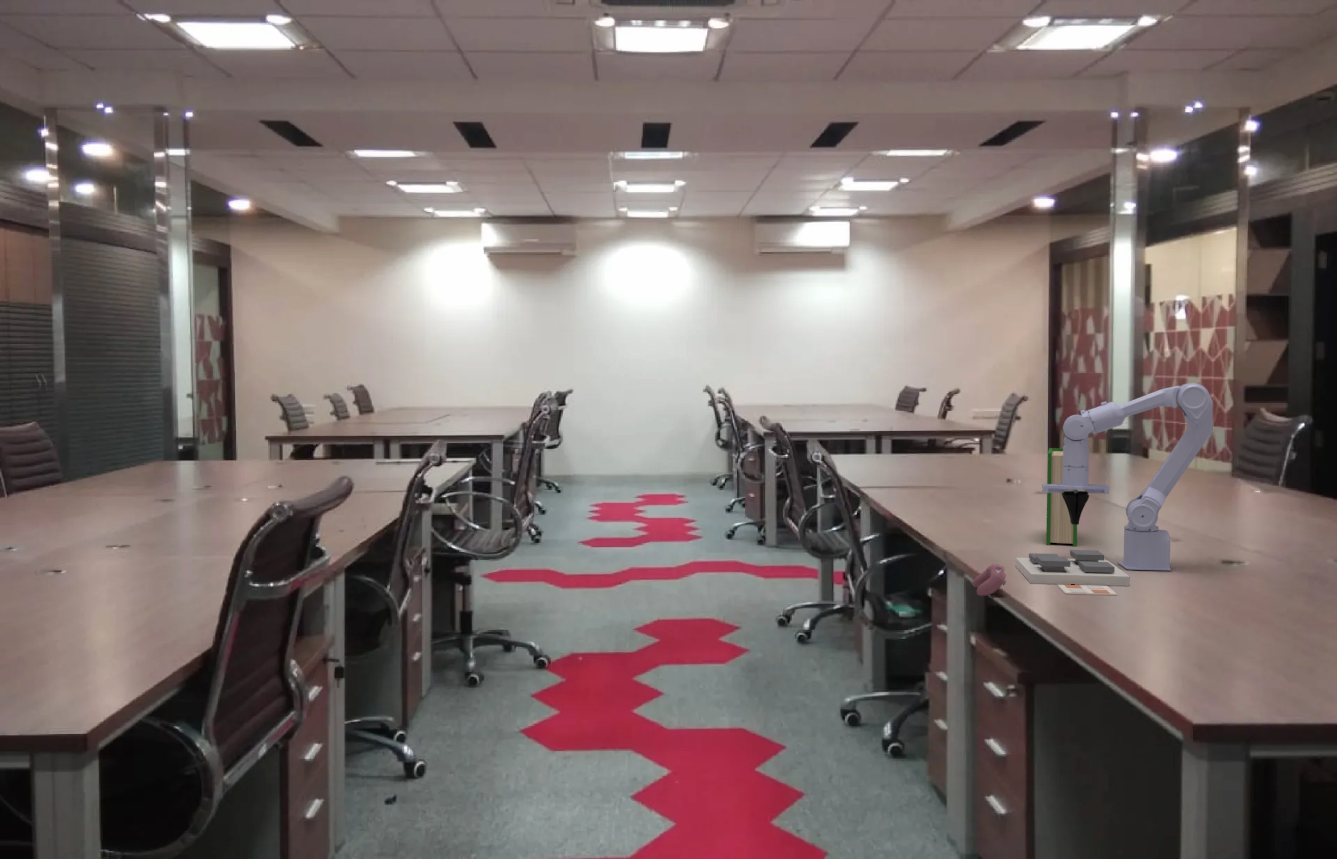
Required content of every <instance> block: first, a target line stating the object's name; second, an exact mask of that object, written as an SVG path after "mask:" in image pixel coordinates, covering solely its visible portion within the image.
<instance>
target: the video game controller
mask: <svg viewBox="0 0 1337 859" xmlns="http://www.w3.org/2000/svg"><path fill="white" fill-rule="evenodd" d="M1006 577H1007V574H1006V573H1005V568H1004V566H1002V565H1000V564H997V563H992V564H991V565H990V566H989V565H988V567H987V568H986V569H985V570H984V571H983V572H981V573H980V574H978V575H977V576H975V578H974V579H973V580H972V586H973V588H975V589H976V588H977V589H976V595H978V596H979V597H986V596H989V595H995V594H996V593H997V591H998V590H999V589H1001V587H1002V586H1005V585H1006V584H1007V580H1006Z"/></svg>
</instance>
